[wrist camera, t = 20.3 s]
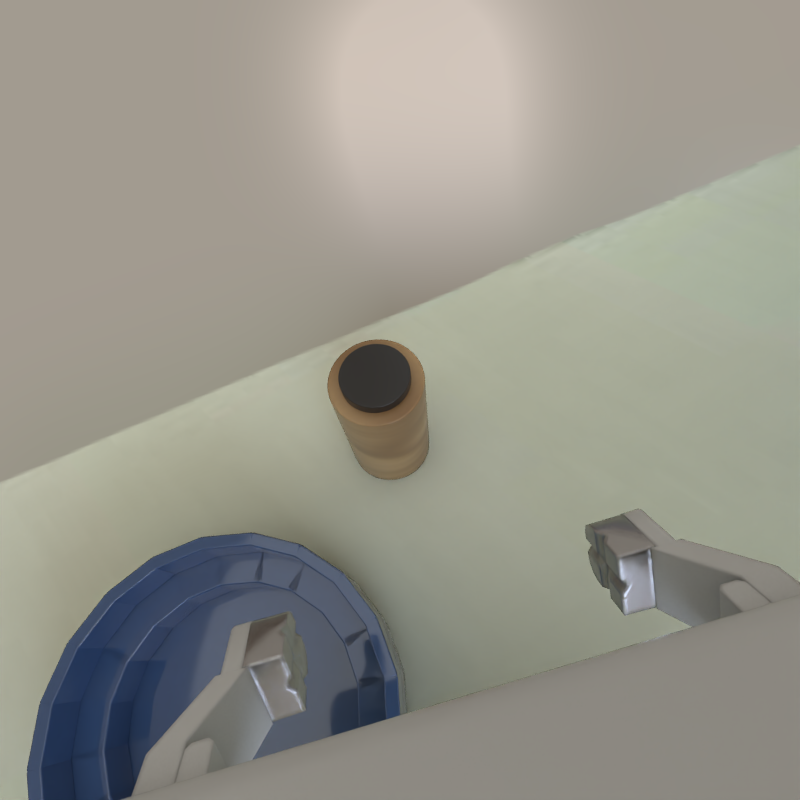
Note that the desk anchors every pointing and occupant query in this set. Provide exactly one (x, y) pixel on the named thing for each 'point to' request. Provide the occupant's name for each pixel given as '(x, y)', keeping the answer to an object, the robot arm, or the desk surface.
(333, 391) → the pepper mill
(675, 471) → the desk surface
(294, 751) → the robot arm
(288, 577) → the bowl
